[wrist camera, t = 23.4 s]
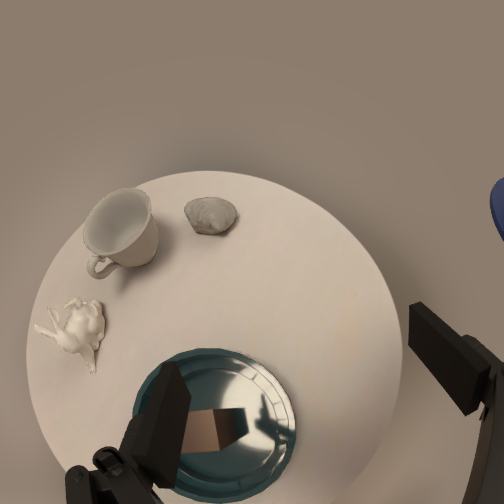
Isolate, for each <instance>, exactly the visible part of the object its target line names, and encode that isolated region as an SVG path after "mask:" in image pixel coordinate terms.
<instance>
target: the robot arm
mask: <svg viewBox="0 0 504 504" xmlns="http://www.w3.org/2000/svg"><path fill="white" fill-rule="evenodd" d="M408 345H409V347H410V348H411V349H412V350H413V351H414V352H415V354H416V355H417V356H418V357H419V358H420V360H421V361H422V362H423V363H424V365H425V366H426V367H427V368H428V369H429V371H430V372H431V373H432V374H433V376H434V377H435V378H436V379H437V381H438V382H439V383H440V384H441V386H442V387H443V388H444V389H445V391H446V392H447V393H448V394H449V396H450V397H451V398H452V400H453V401H454V402H455V403H456V405H457V406H458V407H459V409H460V410H461V411H462V413H463V414H464V415H465V416H467V415H469V414H471V413H472V412H474V411H476V410H477V409H478V407H479V404H480V402H481V401H482V402H483V403H484V405H485V406H484V409H483V412H482V414H481V416H480V419H479V420H481V419H482V422H481V428H480V433H479V439H478V444H477V449H476V454H475V459H474V462H473V466H472V471H471V474H470V478H469V482H468V485H467V489H466V492H465V495H464V498H463V501H462V504H504V362H501V361H500V360H499V359H498V358H497V357H496V356H495V355H494V354H493V353H492V352H491V351H489V350H488V349H487V348H486V347H485V346H484V345H483V344H481V343H480V342H479V341H478V340H477V339H476V338H474V337H472V336H469V335H464V336H462V337H461V336H460V335H458V334H457V333H456V332H455V331H454V330H453V329H451V327H449V326H448V325H447V324H446V323H445V322H444V321H442V319H440V318H439V317H438V316H437V315H436V314H435V313H433V312H432V311H431V310H430V309H429V308H428V307H426V306H425V305H424V304H423V303H422V302H418V303H415V304H412V305H410V306H409V340H408ZM191 398H192V396H191V394H190V392H189V390H188V388H187V385H186V383H185V381H184V379H183V377H182V375H181V372H180V370H179V368H178V366H177V363H176V361H169V362H163V363H162V365H161V368H160V371H159V373H158V376H157V379H156V381H155V384H154V387H153V390H152V392H151V395H150V398H149V401H148V403H147V406H146V409H145V412H144V414H136V415H135V416H134V417H133V418H132V419H131V420H130V422H129V424H128V427H127V431H126V432H125V435H124V437H123V440H122V443H121V445H120V448H119V451H118V450H117V449H116V448H114V447H111V446H110V447H104V448H101V449H99V450H98V451H97V452H96V453H95V454H94V456H93V459H92V460H93V464H94V465H95V466H96V467H97V469H98V470H94V471H88V470H87V469H86V468H85V467H84V466H81V465H77V466H74V467H71V468H70V469H69V470H68V471H67V473H66V476H65V486H66V501H67V504H164V503H163V502H162V501H161V499H160V498H159V497H158V495H157V494H156V493H155V491H154V490H153V489H152V487H153V482H154V483H155V484H156V485H157V487H158V488H165V489H175V484H176V478H177V472H178V467H179V461H180V455H181V450H182V445H183V439H184V434H185V429H186V423H187V418H188V413H189V408H190V403H191Z"/></svg>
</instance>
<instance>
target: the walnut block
mask: <svg viewBox="0 0 504 504" xmlns="http://www.w3.org/2000/svg"><path fill="white" fill-rule="evenodd" d="M237 440H238V435H237V429H236V424H235V419H234V414H233V408H222V409H207V410H198V411H189V413H188V418H187V423H186V429H185V434H184V439H183V445H182V450H181V453H199V452H212V451H221V450H222V449H224V448H226V447H227V446H229V445H231V444H232V443H234V442H236V441H237Z"/></svg>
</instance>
